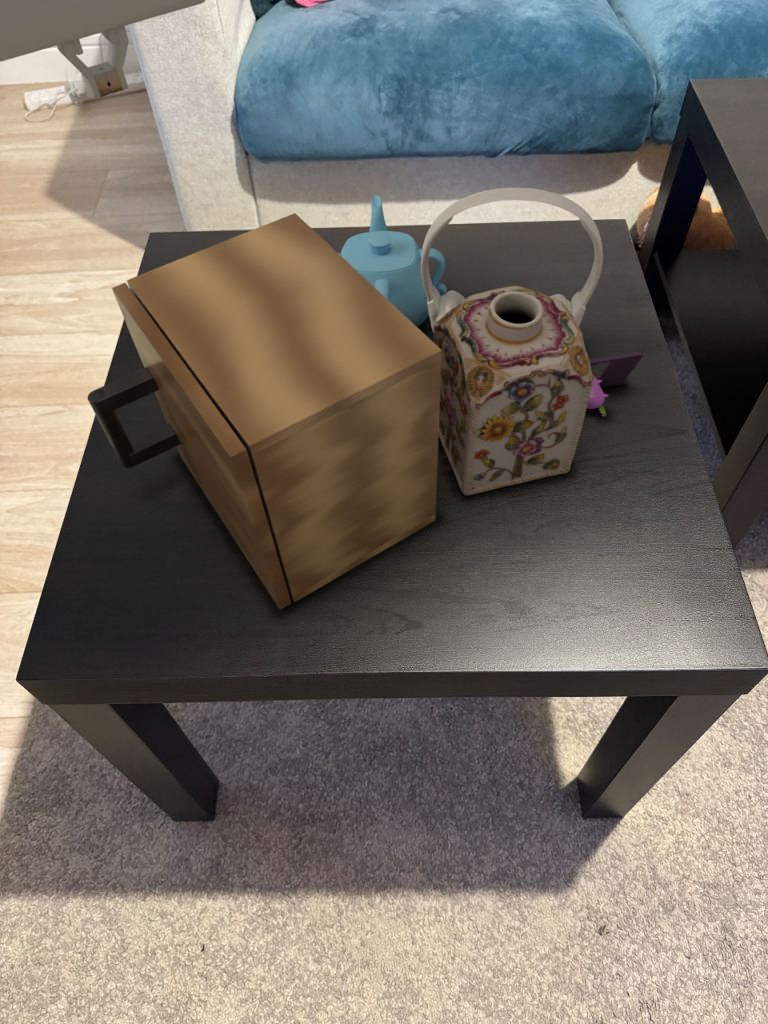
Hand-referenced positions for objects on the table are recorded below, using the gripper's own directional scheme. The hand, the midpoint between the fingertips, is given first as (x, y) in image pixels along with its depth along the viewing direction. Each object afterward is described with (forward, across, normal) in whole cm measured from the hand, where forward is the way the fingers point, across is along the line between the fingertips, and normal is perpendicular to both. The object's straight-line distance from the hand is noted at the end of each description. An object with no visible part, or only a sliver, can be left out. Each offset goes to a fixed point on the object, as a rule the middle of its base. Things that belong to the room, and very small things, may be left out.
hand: (108, 91), depth 60 cm
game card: (+31, -33, +30) cm, 54 cm away
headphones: (+31, -30, +18) cm, 47 cm away
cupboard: (+31, -2, +22) cm, 38 cm away
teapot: (+31, -23, +4) cm, 39 cm away
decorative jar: (+31, -21, +29) cm, 48 cm away
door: (+31, +10, +22) cm, 39 cm away
